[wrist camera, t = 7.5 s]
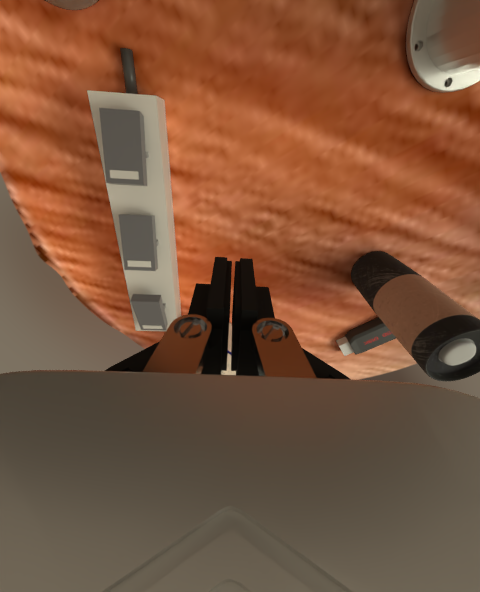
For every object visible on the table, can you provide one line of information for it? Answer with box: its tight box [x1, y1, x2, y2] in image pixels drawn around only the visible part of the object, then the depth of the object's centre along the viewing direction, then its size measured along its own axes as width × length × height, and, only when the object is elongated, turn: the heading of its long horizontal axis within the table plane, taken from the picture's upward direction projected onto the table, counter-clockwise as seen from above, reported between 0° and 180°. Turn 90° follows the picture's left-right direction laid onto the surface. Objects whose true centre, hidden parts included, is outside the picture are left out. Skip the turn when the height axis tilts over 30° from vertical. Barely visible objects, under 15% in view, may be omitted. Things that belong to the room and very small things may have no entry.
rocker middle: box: [119, 214, 158, 271], centre depth 33 cm, size 7×4×2 cm, turn 176°
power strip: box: [87, 48, 181, 331], centre depth 35 cm, size 36×7×5 cm, turn 177°
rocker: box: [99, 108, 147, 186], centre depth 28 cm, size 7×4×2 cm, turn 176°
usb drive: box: [336, 317, 396, 356], centre depth 50 cm, size 5×12×3 cm, turn 123°
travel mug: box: [351, 251, 480, 381], centre depth 35 cm, size 8×8×20 cm
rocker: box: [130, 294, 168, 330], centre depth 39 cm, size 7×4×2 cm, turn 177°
